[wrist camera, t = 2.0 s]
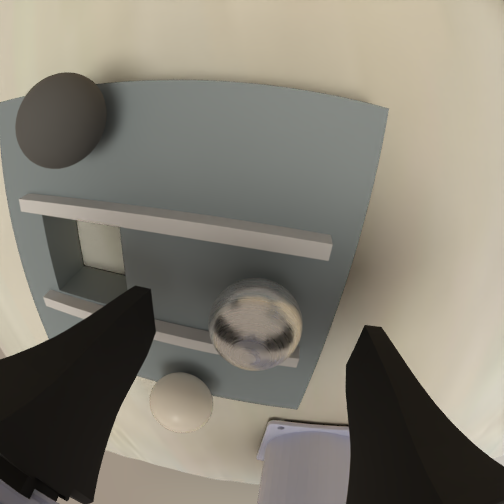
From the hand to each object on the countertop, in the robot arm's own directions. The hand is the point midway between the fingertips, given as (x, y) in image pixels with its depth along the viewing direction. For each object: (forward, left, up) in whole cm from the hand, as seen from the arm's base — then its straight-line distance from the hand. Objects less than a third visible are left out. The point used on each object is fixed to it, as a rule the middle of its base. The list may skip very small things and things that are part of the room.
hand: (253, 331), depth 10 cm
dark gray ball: (+7, -6, 0) cm, 9 cm away
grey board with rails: (+5, 0, -5) cm, 7 cm away
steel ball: (0, 0, 0) cm, 0 cm away
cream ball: (+3, +6, 0) cm, 7 cm away
